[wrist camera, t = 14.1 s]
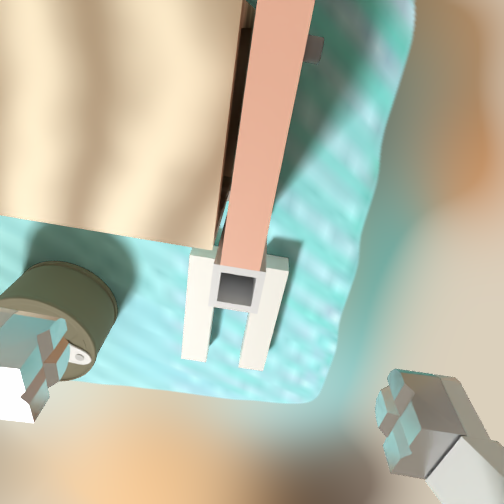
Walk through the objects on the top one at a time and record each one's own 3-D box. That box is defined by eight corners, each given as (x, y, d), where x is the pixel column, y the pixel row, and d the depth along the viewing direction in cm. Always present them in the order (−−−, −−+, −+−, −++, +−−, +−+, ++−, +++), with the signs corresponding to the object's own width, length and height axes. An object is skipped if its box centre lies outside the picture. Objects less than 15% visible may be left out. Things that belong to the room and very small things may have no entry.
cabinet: (66, 189, 36) (-19, 253, 25) (39, -32, 26) (-110, -71, 16) (264, 222, 36) (259, 298, 26) (305, 18, 27) (322, 13, 17)
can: (24, 242, 39) (-20, 279, 34) (130, 284, 42) (107, 325, 36) (13, 316, 45) (-26, 359, 39) (107, 349, 47) (83, 394, 42)
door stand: (185, 343, 46) (181, 358, 44) (194, 242, 38) (189, 254, 36) (263, 355, 46) (262, 371, 44) (288, 257, 38) (289, 271, 36)
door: (228, 223, 35) (208, 306, 23) (259, 10, 26) (250, -24, 15) (272, 230, 35) (272, 316, 23) (315, 20, 27) (349, -4, 15)
